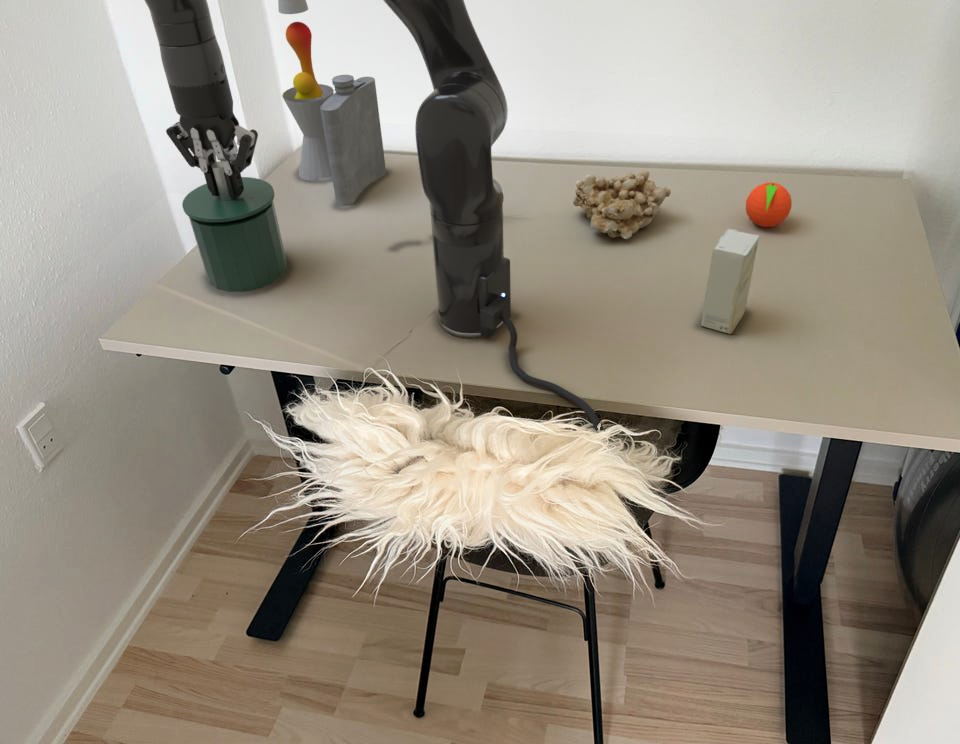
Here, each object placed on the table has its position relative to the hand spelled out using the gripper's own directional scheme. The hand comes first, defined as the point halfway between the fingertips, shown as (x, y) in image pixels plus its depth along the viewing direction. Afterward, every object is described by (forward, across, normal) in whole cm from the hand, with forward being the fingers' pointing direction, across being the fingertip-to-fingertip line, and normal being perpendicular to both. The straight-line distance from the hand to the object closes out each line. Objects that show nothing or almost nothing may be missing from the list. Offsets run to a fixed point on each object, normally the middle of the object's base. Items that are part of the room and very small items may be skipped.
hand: (227, 194), depth 115 cm
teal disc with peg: (+1, 0, 0) cm, 1 cm away
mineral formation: (+14, +53, +29) cm, 62 cm away
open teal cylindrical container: (+13, 0, 0) cm, 13 cm away
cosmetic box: (+14, +71, +6) cm, 72 cm away
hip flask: (+14, +5, +31) cm, 34 cm away
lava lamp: (+14, -5, +36) cm, 38 cm away
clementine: (+13, +75, +34) cm, 84 cm away
